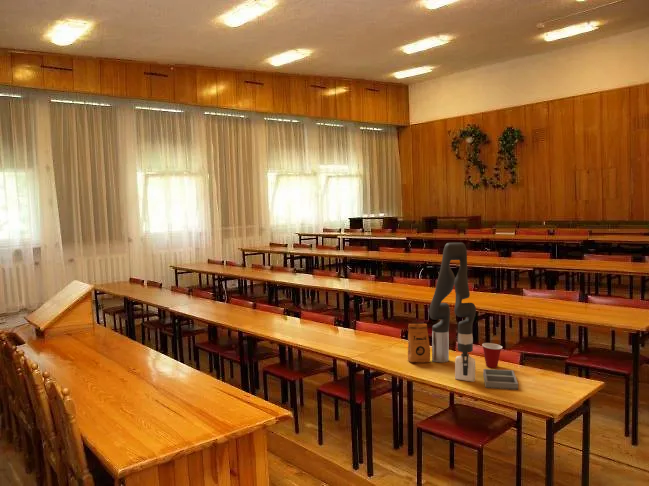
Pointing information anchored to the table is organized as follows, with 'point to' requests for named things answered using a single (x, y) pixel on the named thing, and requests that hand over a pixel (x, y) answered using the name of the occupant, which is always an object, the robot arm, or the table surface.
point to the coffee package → (418, 343)
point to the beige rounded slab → (459, 369)
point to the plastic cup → (491, 354)
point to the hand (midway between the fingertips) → (465, 372)
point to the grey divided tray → (500, 379)
